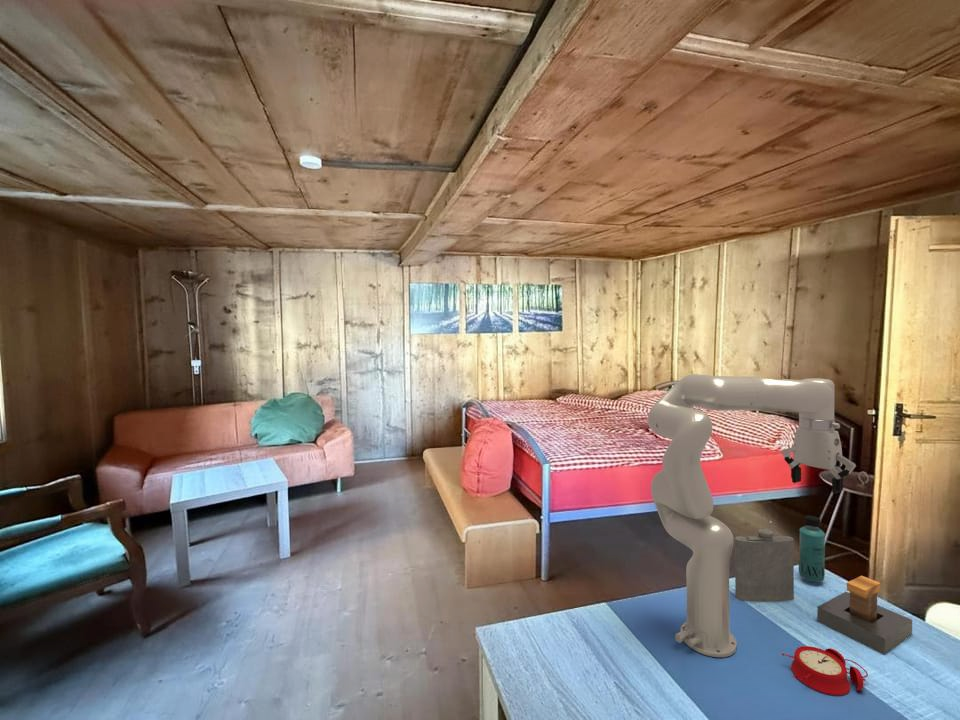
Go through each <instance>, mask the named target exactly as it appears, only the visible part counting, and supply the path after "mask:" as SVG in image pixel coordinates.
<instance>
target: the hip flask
mask: <svg viewBox="0 0 960 720" xmlns="http://www.w3.org/2000/svg"><path fill="white" fill-rule="evenodd" d="M757 533H758V535H751V536H748V535H747V536H742V535H741V536H740V535H739V536H738V535H737V536H735V537H734V562H735V563H734V568H735V569H734V570H735V571H734V580H735V582H734V584H735V585H734V587H735V589H734V590H735V592H734V593H735V594H734V595H735V598H736V599H737V600H739V601H742V602H753V603H755V602H756V603H760V602H761V603H777V602H778V603H779V602H781V603H782V602H788V601H789V602H790V601H794V599H795V598H794V596H795V595H794V594H795V589H794V587H795V586H794V585H795V584H794V583H795V581H794V580H795V577H794V576H795V571H794V570H795V565H794V564H795V561H794V560H795V550H794V549H795V547H794V546H795V538H793V537H791V536H789V535H776V536H774V532H773V531H772V530H770V529H766V528H759V529H758V530H757Z"/></svg>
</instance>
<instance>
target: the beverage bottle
mask: <svg viewBox="0 0 960 720" xmlns="http://www.w3.org/2000/svg"><path fill="white" fill-rule="evenodd" d="M803 524H805V525H804V526H802V527H800V528H799V550H798V553H799V554H798V573H799V576H800V577H802V579H804V580H806V581H810V582H815V583H821V582H823V581H824V580H825V578H826V577H825V576H826V574H825V568H826V567H825V566H826V565H825V563H826V559H825V555H826V553H825V552H826V545H825V544H826V543H825V542H826V534H825V532H824V531H823V530H822V529H821V528H820V527H822V523H821V519H820V517H817V516H814V515H804V519H803Z"/></svg>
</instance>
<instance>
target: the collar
mask: <svg viewBox="0 0 960 720" xmlns="http://www.w3.org/2000/svg"><path fill="white" fill-rule="evenodd" d="M816 611H817V619H816V620H817V622H818V623H820V624H821V625H824V626H826V627H828V628H830V629H832V630H834V631H836V632H838V633H840V634H842V635H844V636H846V637H847V638H850V639H852V640H854V641H856V642H857V643H860V644H862V645H864V646H866V647H868V648H869V649H872V650H873V651H875V652H878V653H879V654H882V655H884V656H885V655H886V654H888V653H890V652H891V651H892V650H894V649H895V648H896V647H898V646H900V643H901V642H902V643H903V642H905V641H906V640H907V639H906V638H908V637H909V636H910V637H912V636H913V619H912V618H909V617H906V616H904V615H902V614H900V613H898V612H895V611H894V610H893V611H892V610H890V609H889V608H886V607H883V606H882V605H881V606H880V605H878V604H877V621H875V622H874V623H870V622H868V621H866V620H864V619H861V618H859V617H857V616H855V615H853V614H850V592H849V591H844V592H842V593H840V594H839V595H836V596H834V597H833V598H831V599H829V600H827V601H826V602H823V603H822V604H820V605H818V606H817V610H816ZM911 635H912V636H911ZM910 637H909V638H910ZM909 638H908V639H909ZM905 639H906V640H905ZM904 640H905V641H904ZM902 643H901V644H902Z"/></svg>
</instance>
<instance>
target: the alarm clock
mask: <svg viewBox="0 0 960 720" xmlns="http://www.w3.org/2000/svg"><path fill="white" fill-rule="evenodd" d="M781 655H782V656H787V657H789V658H793V660H792V661H791V663H790V667H791V668H790V670H791V671H792V673H793V678H794V679H795V680H798V681H799V682H801V683H803V684H804V685H805V686H807V687H809V688H810V689H812V690H815V691H817V692H819V693H823V694H826V695H830V696H836V697H837V696H844V695H847V694H848V693H849V692H850V690H851V684H854V685H856V686H857V688H856V691H859V692H861V691H862V690H863V688H864V685H865V681H866V678H867V677H868V676H869V674H868V671H867V670H866V669H865V668H864V667H863V666H861V665H860V664H858V662H855V661H853V660H851V659H847V658H845V657H844V656H843V655H842V653H840V652H839V651H838V650H836V649H835V648H832V647H831V648H826V649H825V650H824V649H822V648H818V647H816V646H815V647H814V646H810V645H808V646H807V645H804V646H799V647H797V648H796V649H795V651H794V656H793V655H789V654H785V653H783V652H782V653H781ZM846 661H848V662H851V663H854V664H855V665H857V666H859V668H860V669H862V670H863V671H864V672H865V674H866V675H862V672H861V671H860V670H859V669H858V668H857V667H855V666H852V665H851V666H850V667H849V668H848V667H847V663H846ZM848 674H849V678H848ZM849 679H850V680H849ZM850 682H851V683H850Z"/></svg>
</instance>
